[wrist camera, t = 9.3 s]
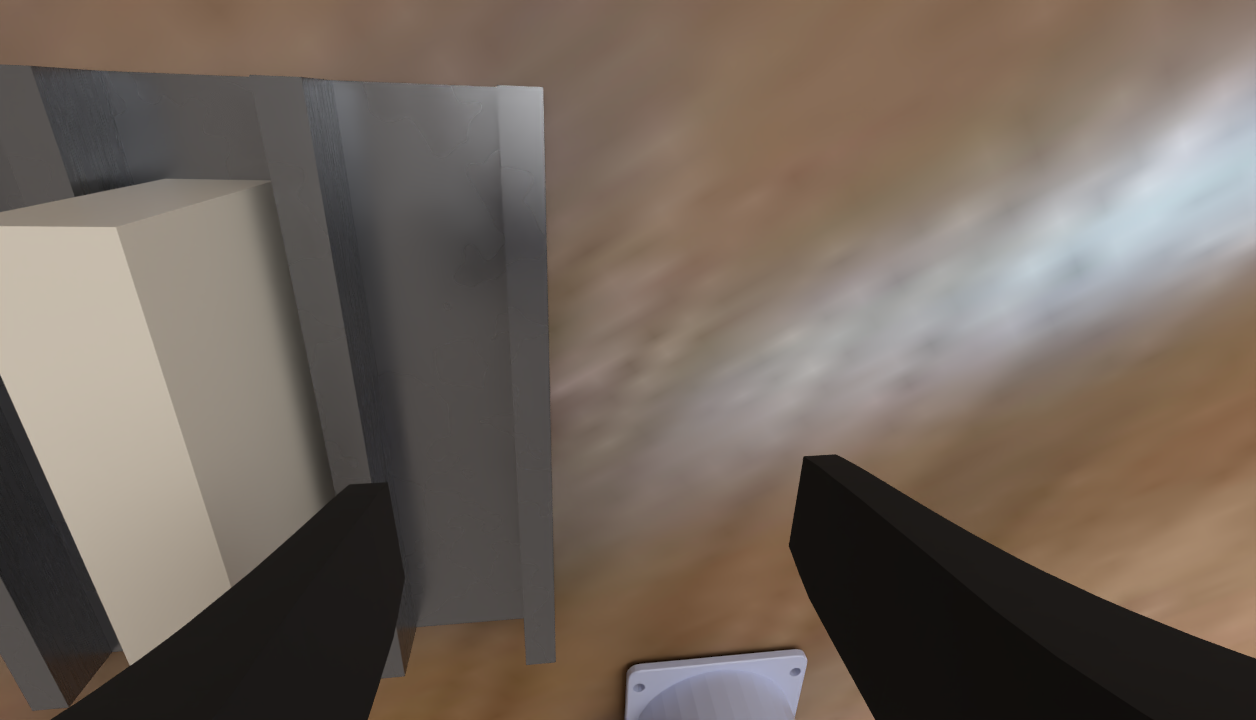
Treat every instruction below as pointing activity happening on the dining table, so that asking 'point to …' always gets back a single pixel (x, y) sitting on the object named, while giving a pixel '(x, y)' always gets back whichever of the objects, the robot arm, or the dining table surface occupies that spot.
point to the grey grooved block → (329, 324)
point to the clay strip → (163, 388)
